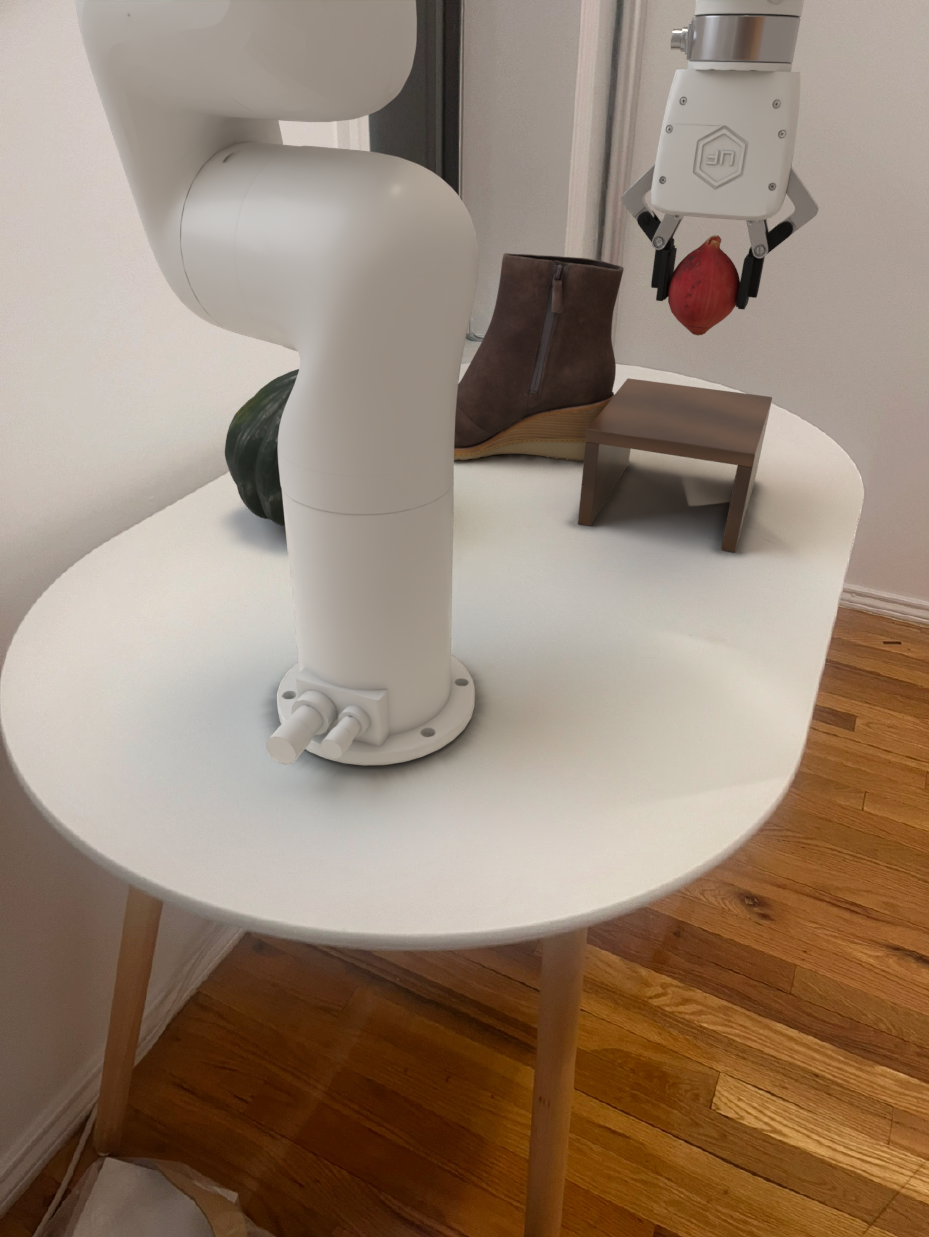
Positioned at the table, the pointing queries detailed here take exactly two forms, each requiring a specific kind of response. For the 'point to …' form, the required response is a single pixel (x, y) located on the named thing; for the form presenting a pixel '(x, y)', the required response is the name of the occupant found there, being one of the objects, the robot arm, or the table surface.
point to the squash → (259, 448)
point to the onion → (703, 287)
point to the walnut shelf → (675, 439)
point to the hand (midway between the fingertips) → (702, 299)
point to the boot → (541, 360)
